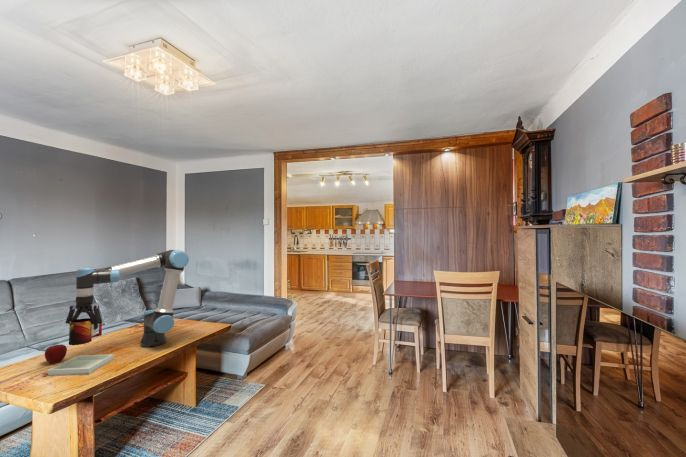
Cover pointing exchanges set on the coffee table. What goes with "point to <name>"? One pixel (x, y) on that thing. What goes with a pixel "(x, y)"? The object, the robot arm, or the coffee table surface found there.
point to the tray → (81, 365)
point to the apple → (55, 353)
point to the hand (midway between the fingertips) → (83, 335)
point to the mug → (82, 331)
